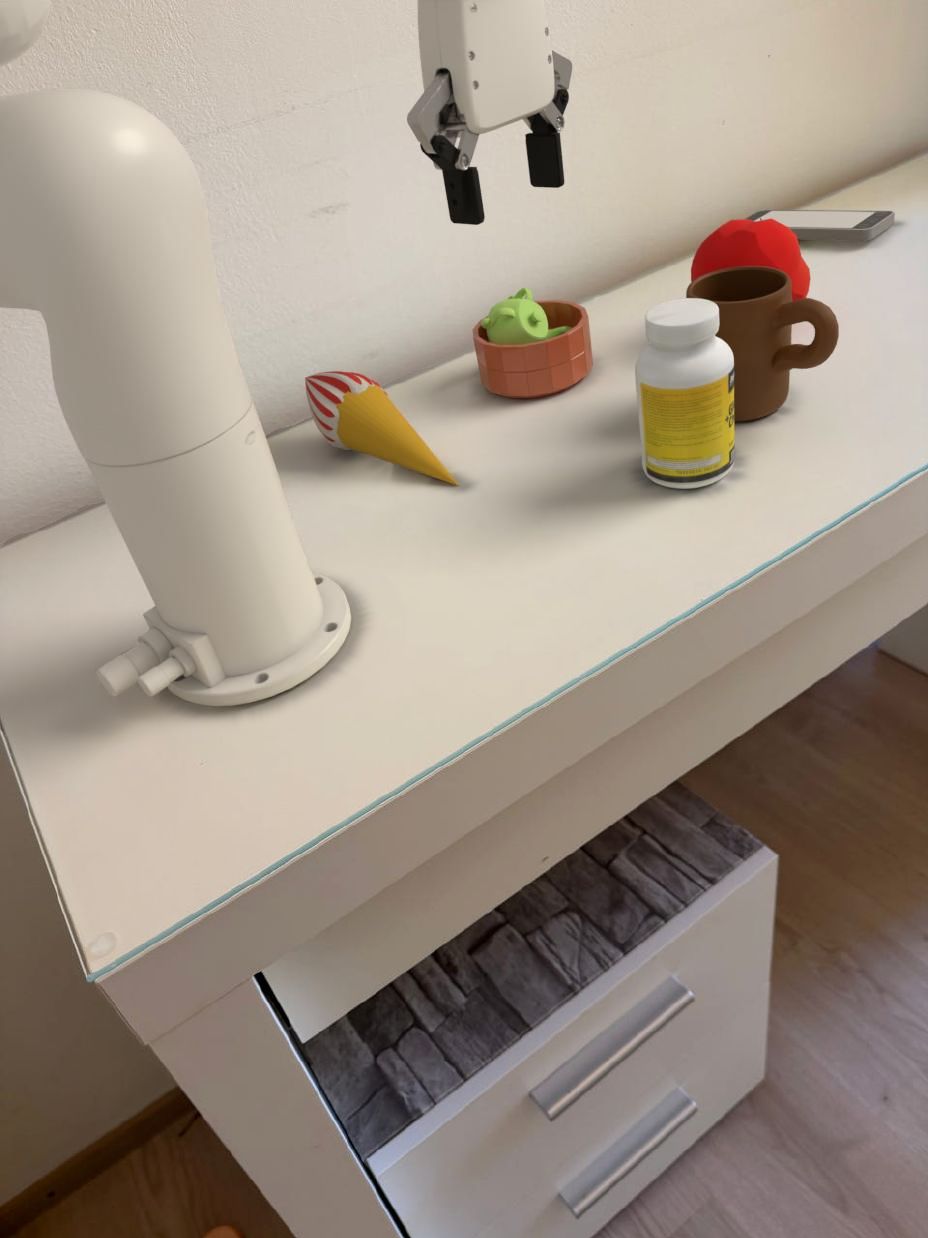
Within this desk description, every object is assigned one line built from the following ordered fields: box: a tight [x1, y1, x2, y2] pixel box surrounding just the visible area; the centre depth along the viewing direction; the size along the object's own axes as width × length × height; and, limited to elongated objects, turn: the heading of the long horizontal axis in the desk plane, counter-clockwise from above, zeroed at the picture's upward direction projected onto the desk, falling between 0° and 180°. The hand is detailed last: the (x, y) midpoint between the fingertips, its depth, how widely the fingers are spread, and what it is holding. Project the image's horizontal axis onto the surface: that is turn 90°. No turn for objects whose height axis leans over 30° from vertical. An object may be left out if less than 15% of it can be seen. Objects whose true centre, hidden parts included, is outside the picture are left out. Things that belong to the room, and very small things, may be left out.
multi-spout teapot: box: [481, 287, 572, 345], centre depth 82 cm, size 6×5×6 cm
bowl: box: [472, 299, 594, 399], centre depth 83 cm, size 10×10×5 cm
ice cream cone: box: [304, 370, 460, 487], centre depth 76 cm, size 6×6×20 cm
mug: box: [685, 266, 840, 423], centre depth 69 cm, size 12×8×9 cm, turn 40°
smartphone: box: [744, 209, 896, 242], centre depth 99 cm, size 7×1×15 cm
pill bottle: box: [634, 297, 736, 490], centre depth 64 cm, size 6×6×12 cm
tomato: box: [690, 218, 811, 301], centre depth 81 cm, size 9×10×8 cm
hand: (509, 203), depth 75 cm, fingers open, 9 cm apart
